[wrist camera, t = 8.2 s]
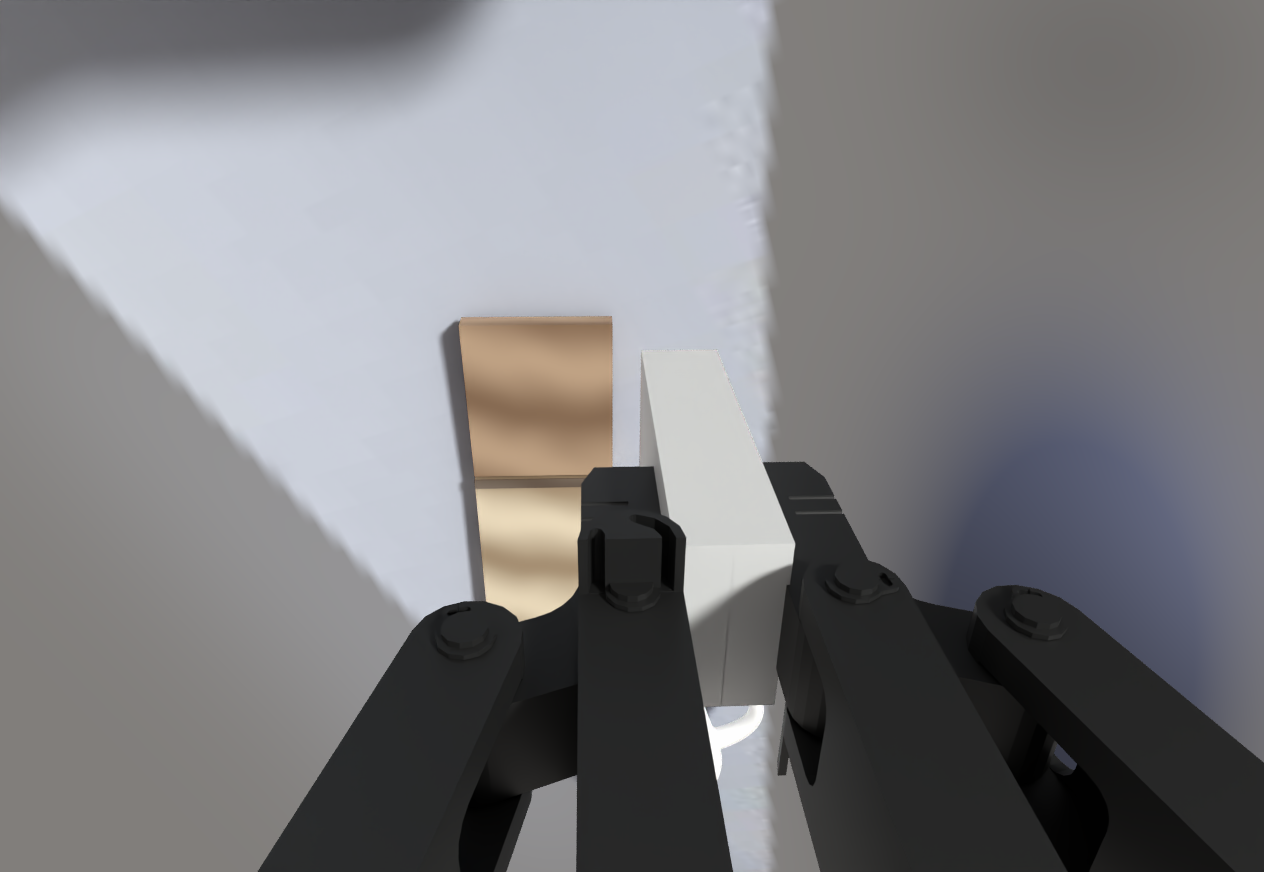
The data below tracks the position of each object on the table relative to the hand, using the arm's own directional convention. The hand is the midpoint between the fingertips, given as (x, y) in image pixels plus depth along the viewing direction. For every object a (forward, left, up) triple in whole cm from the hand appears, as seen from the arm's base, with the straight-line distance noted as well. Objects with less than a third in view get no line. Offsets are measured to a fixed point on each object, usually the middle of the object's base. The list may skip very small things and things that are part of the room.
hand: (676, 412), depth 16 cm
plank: (+13, -5, -29) cm, 32 cm away
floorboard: (+24, -5, -29) cm, 38 cm away
